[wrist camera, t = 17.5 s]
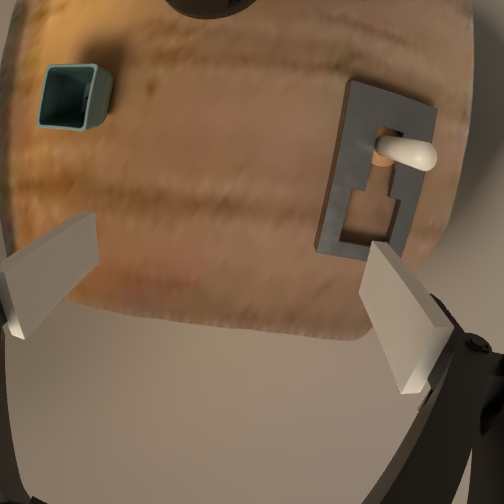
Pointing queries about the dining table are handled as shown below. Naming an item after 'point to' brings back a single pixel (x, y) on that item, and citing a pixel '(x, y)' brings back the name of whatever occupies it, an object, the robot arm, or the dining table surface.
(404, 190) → the keyhole plate
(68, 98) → the flower pot
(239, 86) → the dining table surface
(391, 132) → the peg
